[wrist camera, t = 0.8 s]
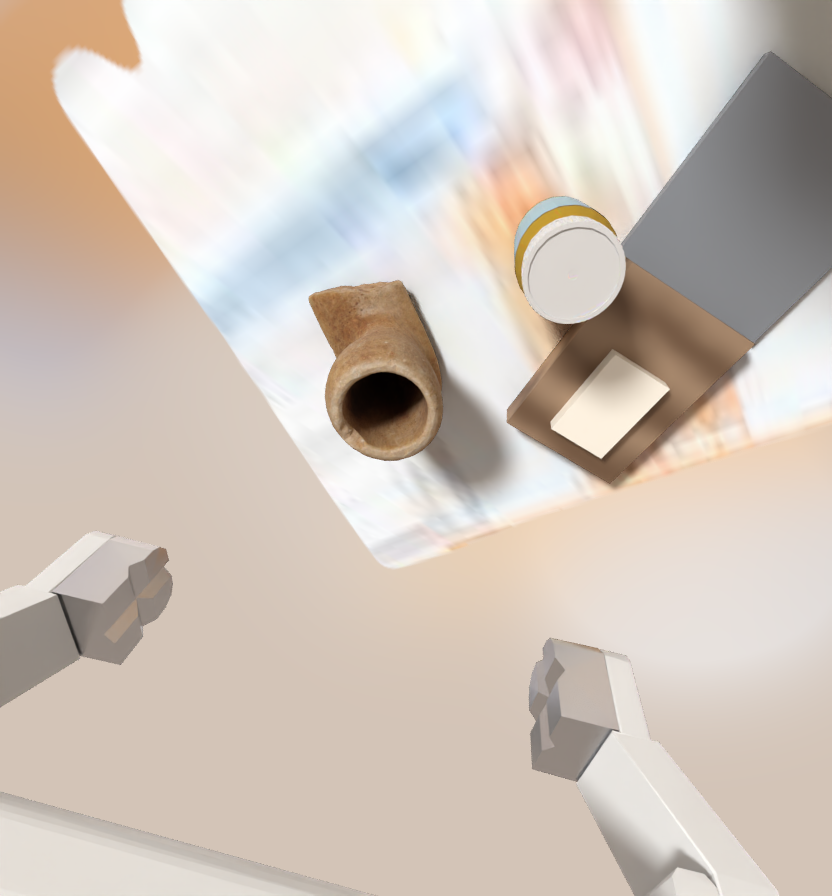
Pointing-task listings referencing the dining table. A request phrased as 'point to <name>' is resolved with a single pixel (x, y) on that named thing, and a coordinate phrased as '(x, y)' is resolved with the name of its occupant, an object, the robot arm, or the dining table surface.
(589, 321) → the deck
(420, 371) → the stone cup
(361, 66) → the dining table surface
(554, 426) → the tile
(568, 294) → the bottle
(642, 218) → the mat
